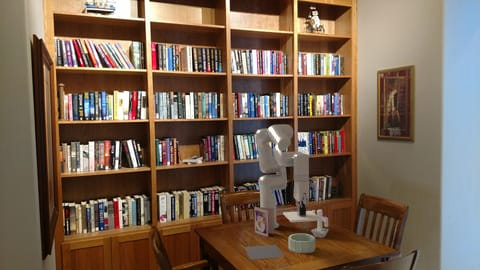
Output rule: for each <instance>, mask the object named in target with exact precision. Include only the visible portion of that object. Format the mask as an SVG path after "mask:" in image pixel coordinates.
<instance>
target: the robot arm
mask: <svg viewBox="0 0 480 270" xmlns="http://www.w3.org/2000/svg"><path fill="white" fill-rule="evenodd" d="M293 135H294V128H293V127H292V126H291V125H290V124H285V123H284V124H273V125H272V124H271V126H269V127H268V128H260V129H258V130H257V131H256V132H255V135H254V140H255V144H256V147H257V150H258V161H259V170H260V172H261V173H265V174H266V175H262V176H259V177H258V188H259V196H260V197H259V199H260V200H259V201H260V203H259V204H260V206H259V207H263V208H274V230H275V229H278V228H279V226H280V224H279V223H278V222H277V198H276V195H275V194H274V193H273V191H281V190H285V189H287V185H288V179H287V168H286V167H293V181H294V183H293V185H294V186H293V198H294V199H295V200H296V204H297V203H300V215H306V211H307V204H308V201H309V184H308V182H309V181H310V175H309V174H310V170H309V169H310V165H309V164H310V162H309V160H310V159H309V154H308V153H303V152H301V151H285V150H286V149H288V148H289V147H290V145H291V138H293ZM270 143H273V144H274V145H275V146H274V148H273V149H272V147H271V145H270ZM270 173H276V174H270Z"/></svg>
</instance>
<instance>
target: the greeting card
mask: <svg viewBox="0 0 480 270" xmlns="http://www.w3.org/2000/svg"><path fill="white" fill-rule="evenodd" d="M254 233H256V234H258V235H260V236H261V235H262V236H263V237H269V234H272V235H274V234H275V229H274V208H263V207H260V206H258V207H257V206H254Z"/></svg>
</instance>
